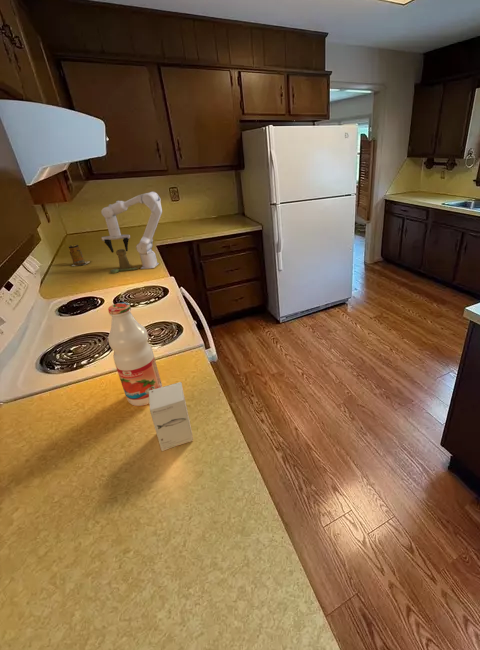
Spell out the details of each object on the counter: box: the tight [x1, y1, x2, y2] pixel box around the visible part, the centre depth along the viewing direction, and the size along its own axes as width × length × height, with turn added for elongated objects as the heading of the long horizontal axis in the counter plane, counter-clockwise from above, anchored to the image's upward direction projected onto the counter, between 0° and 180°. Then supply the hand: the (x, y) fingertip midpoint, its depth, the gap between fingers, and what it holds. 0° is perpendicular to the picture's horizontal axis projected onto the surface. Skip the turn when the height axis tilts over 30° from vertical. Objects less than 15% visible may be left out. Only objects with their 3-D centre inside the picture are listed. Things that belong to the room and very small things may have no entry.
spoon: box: [109, 267, 139, 274], centre depth 193 cm, size 15×4×1 cm, turn 107°
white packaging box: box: [148, 381, 194, 452], centre depth 76 cm, size 7×7×13 cm
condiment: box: [68, 244, 91, 267], centre depth 206 cm, size 7×8×12 cm
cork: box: [115, 248, 132, 270], centre depth 197 cm, size 6×6×11 cm
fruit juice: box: [107, 301, 163, 407], centre depth 87 cm, size 9×9×28 cm
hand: (119, 251), depth 193 cm, fingers open, 7 cm apart
